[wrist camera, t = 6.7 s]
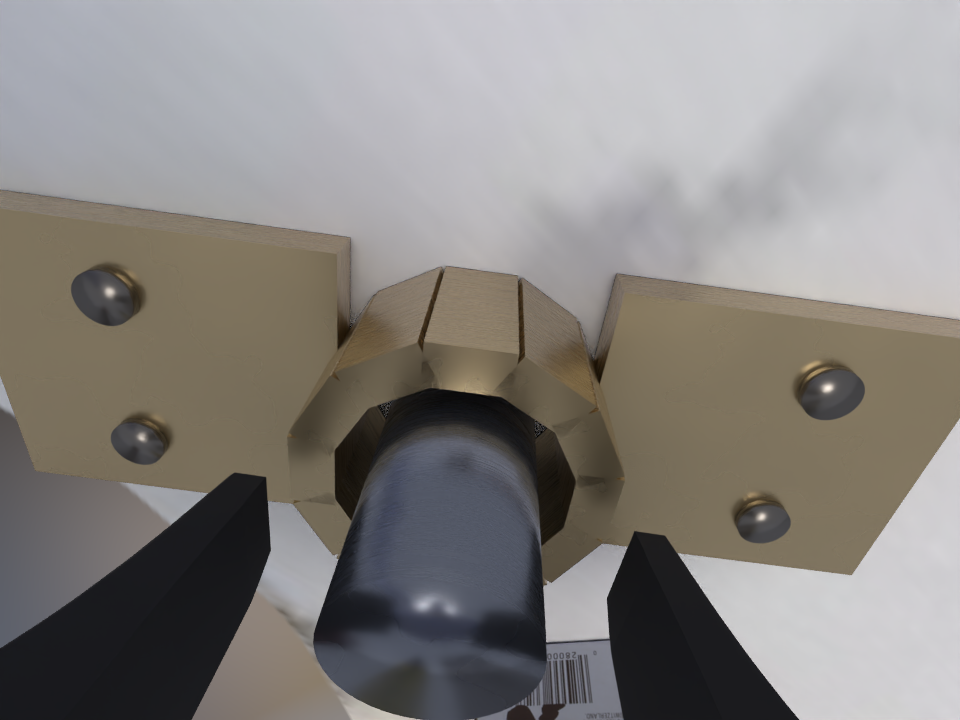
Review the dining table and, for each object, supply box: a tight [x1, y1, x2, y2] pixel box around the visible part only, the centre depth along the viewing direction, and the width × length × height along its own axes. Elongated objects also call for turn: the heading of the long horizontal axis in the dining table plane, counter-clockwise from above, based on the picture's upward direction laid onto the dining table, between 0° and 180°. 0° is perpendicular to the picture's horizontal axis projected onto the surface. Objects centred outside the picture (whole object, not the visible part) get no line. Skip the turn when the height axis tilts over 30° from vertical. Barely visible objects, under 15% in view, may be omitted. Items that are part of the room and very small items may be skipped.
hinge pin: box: [313, 388, 547, 720], centre depth 12 cm, size 4×4×8 cm
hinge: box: [0, 190, 960, 586], centre depth 14 cm, size 25×8×4 cm, turn 83°
